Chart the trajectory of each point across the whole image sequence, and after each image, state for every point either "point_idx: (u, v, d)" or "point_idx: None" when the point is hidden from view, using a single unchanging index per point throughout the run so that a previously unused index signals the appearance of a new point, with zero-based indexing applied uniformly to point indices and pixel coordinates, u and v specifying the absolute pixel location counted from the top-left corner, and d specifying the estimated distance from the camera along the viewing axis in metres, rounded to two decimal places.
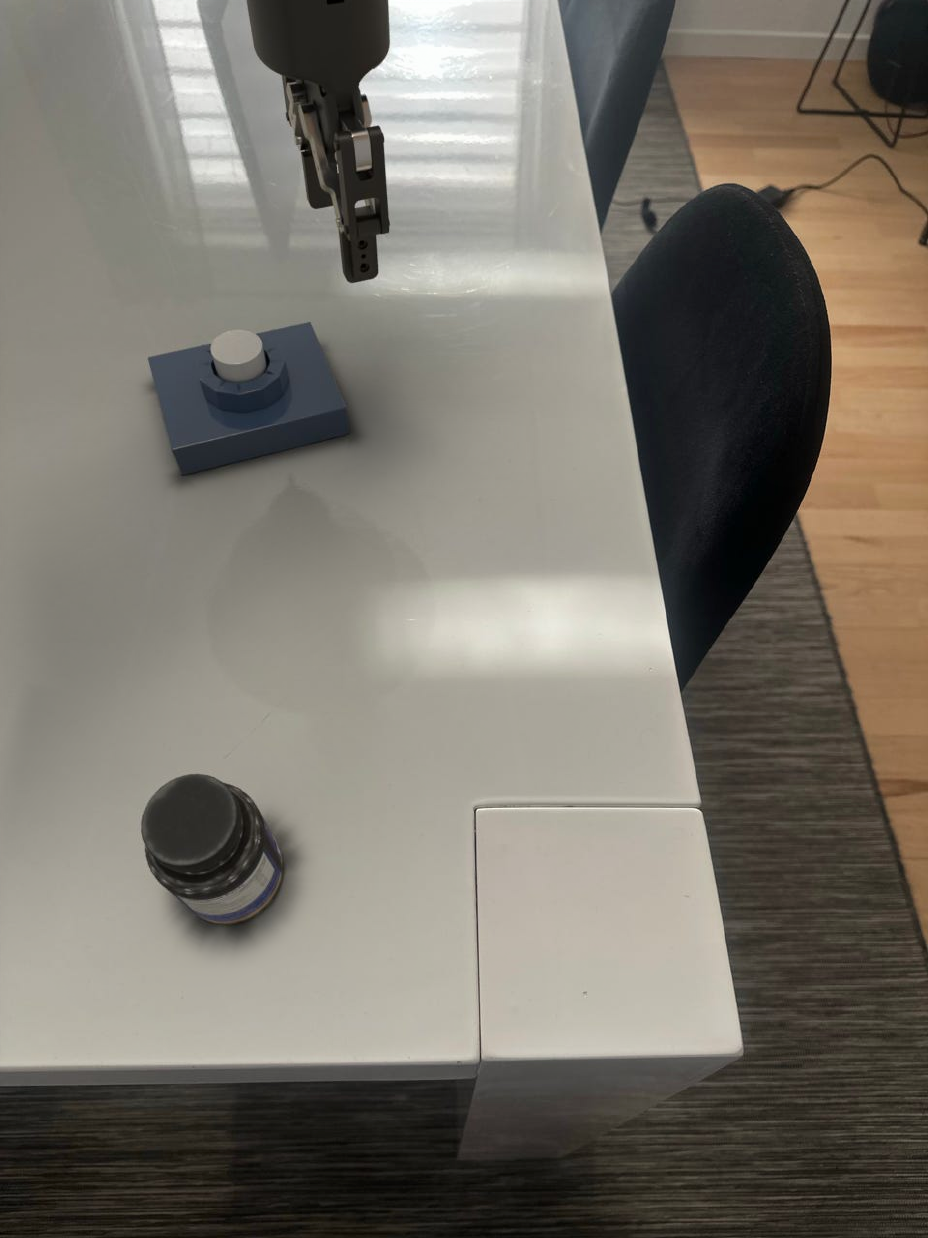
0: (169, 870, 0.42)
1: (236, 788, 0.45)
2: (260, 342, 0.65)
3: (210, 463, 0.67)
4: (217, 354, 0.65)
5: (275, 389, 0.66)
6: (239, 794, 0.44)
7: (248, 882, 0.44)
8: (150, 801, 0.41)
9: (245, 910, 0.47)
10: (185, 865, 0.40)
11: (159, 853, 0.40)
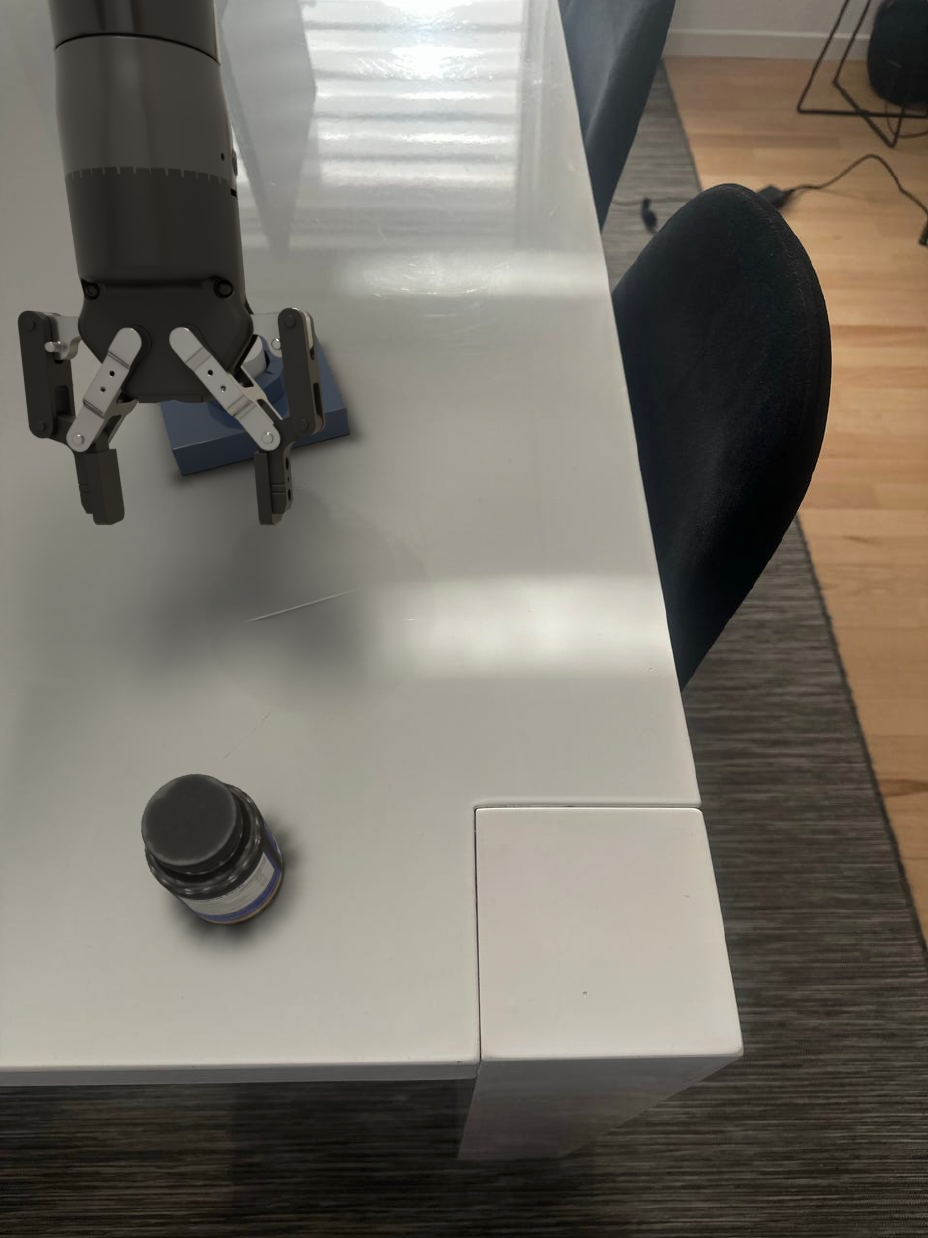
0: (169, 870, 0.42)
1: (236, 788, 0.45)
2: (260, 342, 0.65)
3: (210, 463, 0.67)
4: None
5: (275, 389, 0.66)
6: (239, 794, 0.44)
7: (248, 882, 0.44)
8: (150, 801, 0.41)
9: (245, 910, 0.47)
10: (185, 865, 0.40)
11: (159, 853, 0.40)
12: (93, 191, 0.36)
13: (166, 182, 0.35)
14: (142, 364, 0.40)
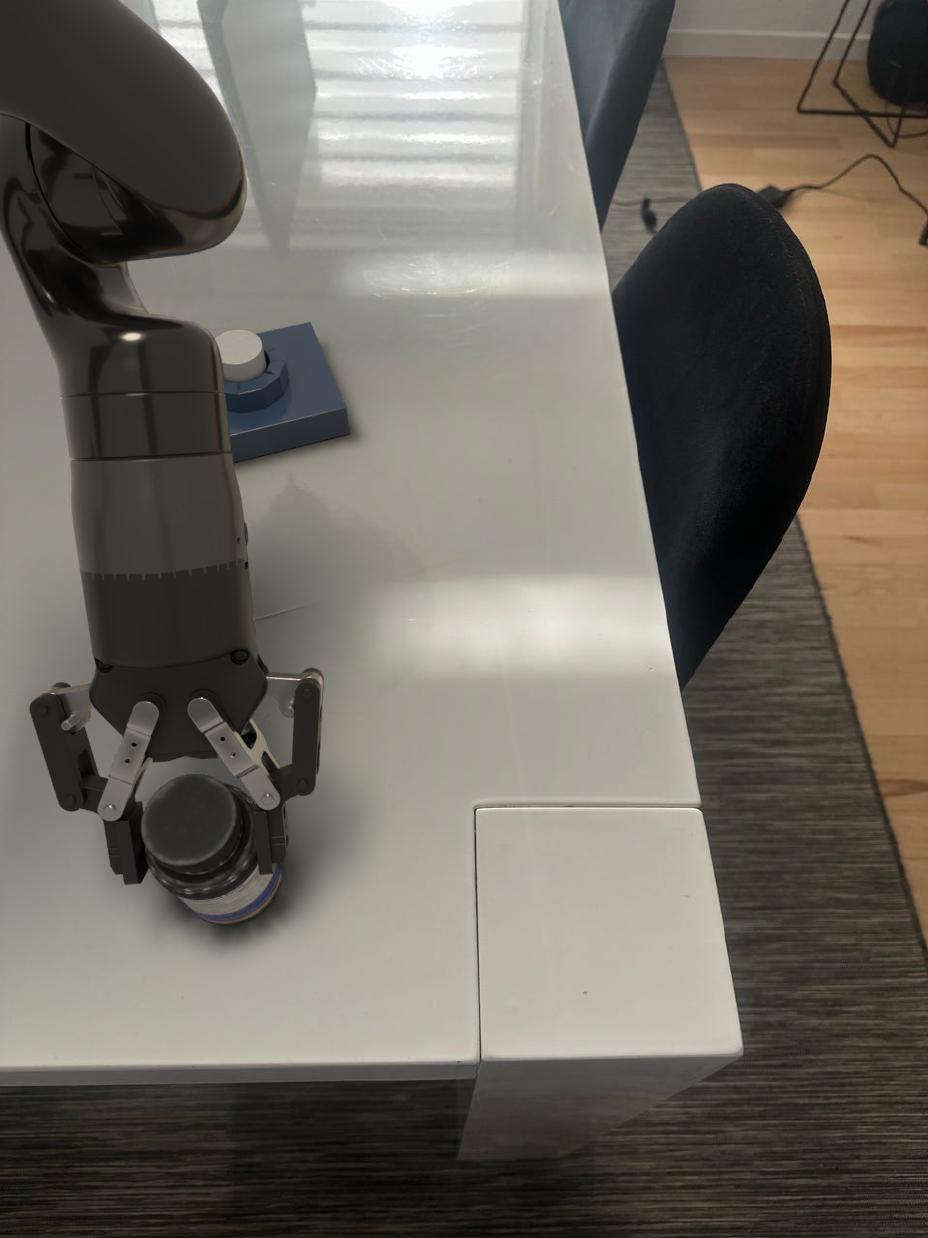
0: (169, 870, 0.42)
1: (236, 788, 0.45)
2: (260, 342, 0.65)
3: None
4: None
5: (275, 389, 0.66)
6: (239, 794, 0.44)
7: (248, 882, 0.44)
8: (150, 801, 0.41)
9: (245, 910, 0.47)
10: (184, 865, 0.40)
11: (159, 853, 0.40)
12: (116, 594, 0.36)
13: (189, 582, 0.36)
14: (157, 728, 0.40)
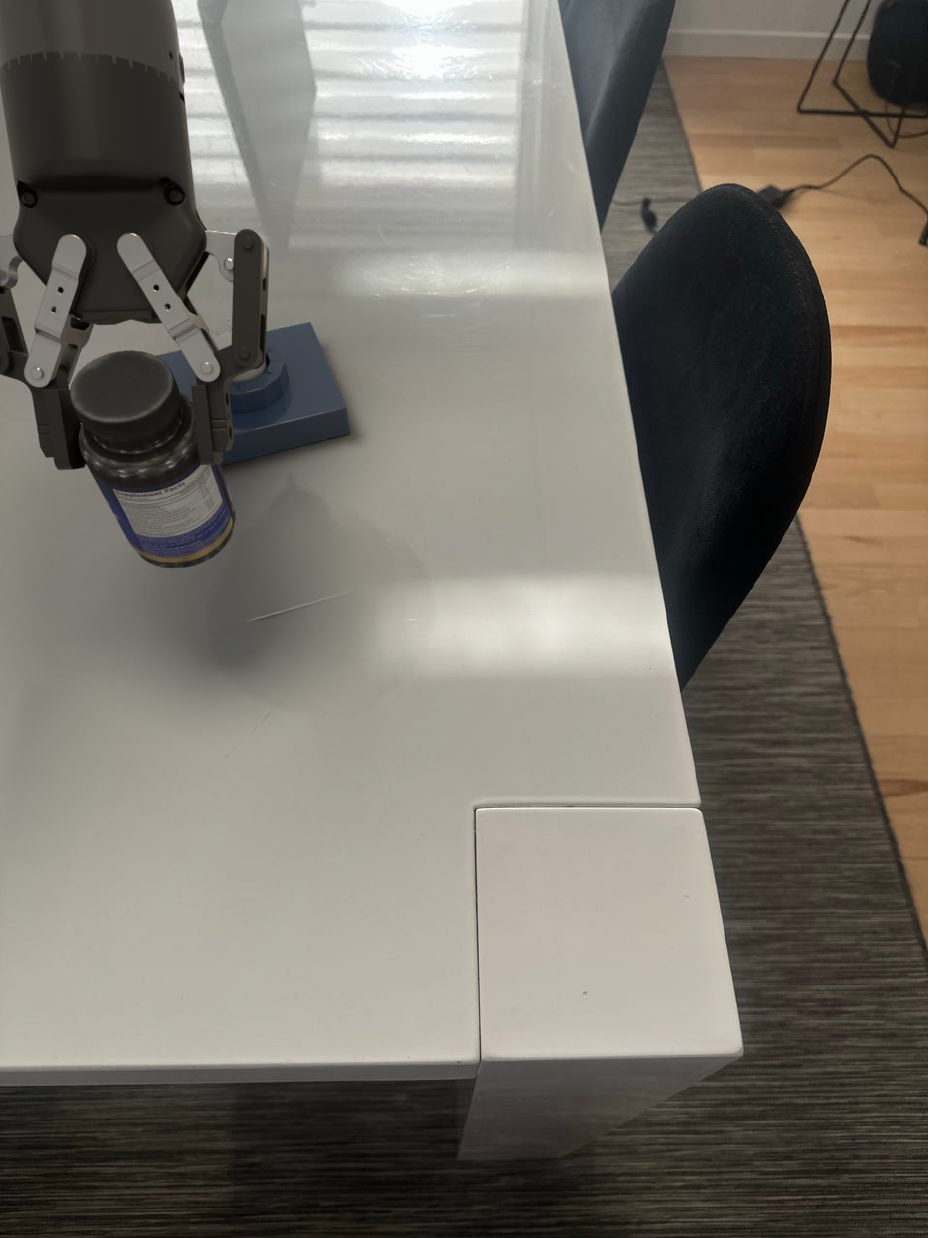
0: (102, 450, 0.39)
1: (178, 391, 0.42)
2: None
3: None
4: None
5: (275, 389, 0.66)
6: (181, 393, 0.42)
7: (190, 483, 0.41)
8: (81, 370, 0.39)
9: (190, 539, 0.44)
10: (115, 422, 0.37)
11: (88, 411, 0.37)
12: (33, 79, 0.33)
13: (113, 71, 0.34)
14: (86, 278, 0.37)
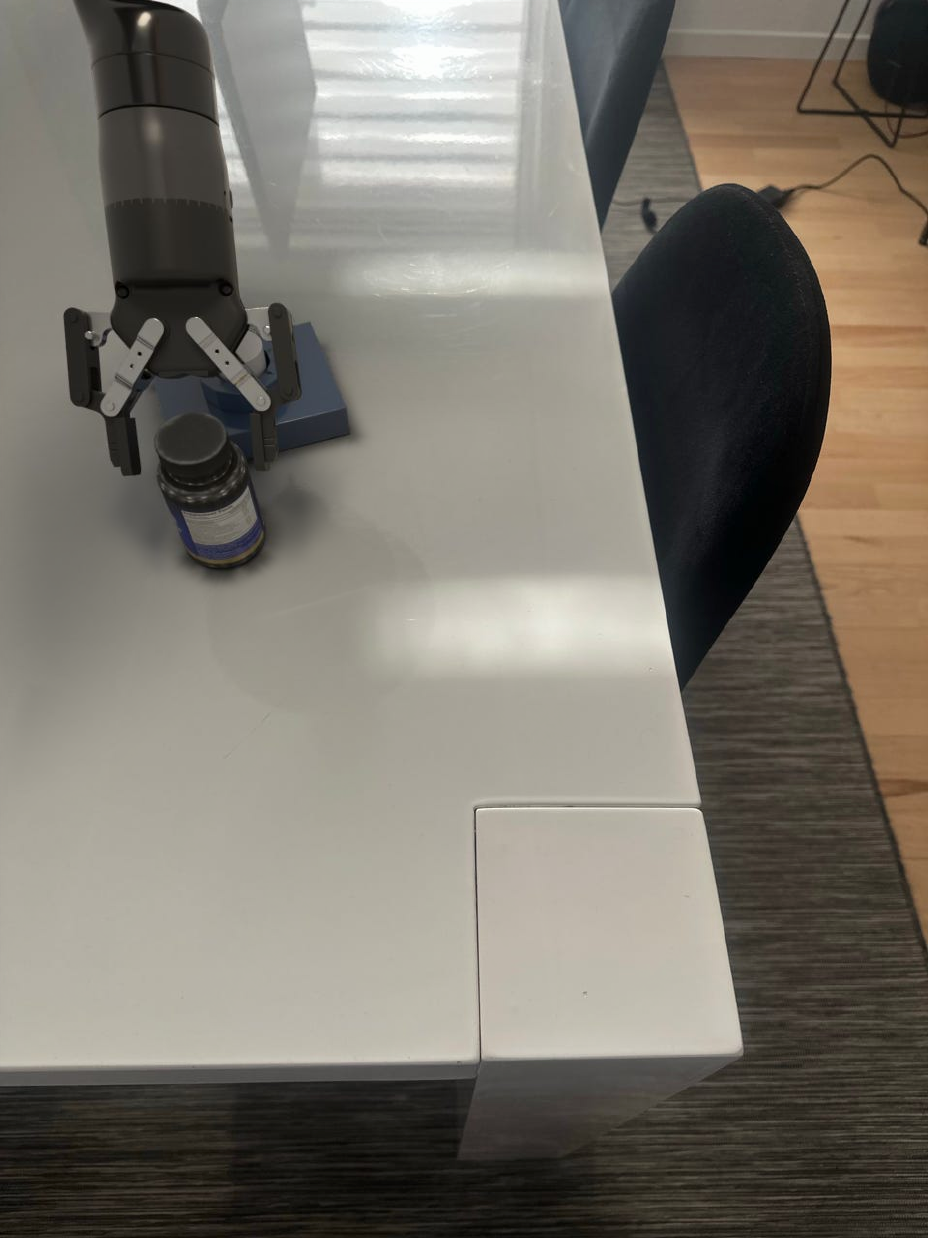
0: (175, 483, 0.55)
1: None
2: (260, 342, 0.65)
3: None
4: None
5: None
6: None
7: (236, 506, 0.57)
8: (161, 426, 0.54)
9: (234, 546, 0.60)
10: (187, 464, 0.53)
11: (168, 456, 0.53)
12: (132, 215, 0.48)
13: (187, 209, 0.49)
14: (162, 347, 0.52)
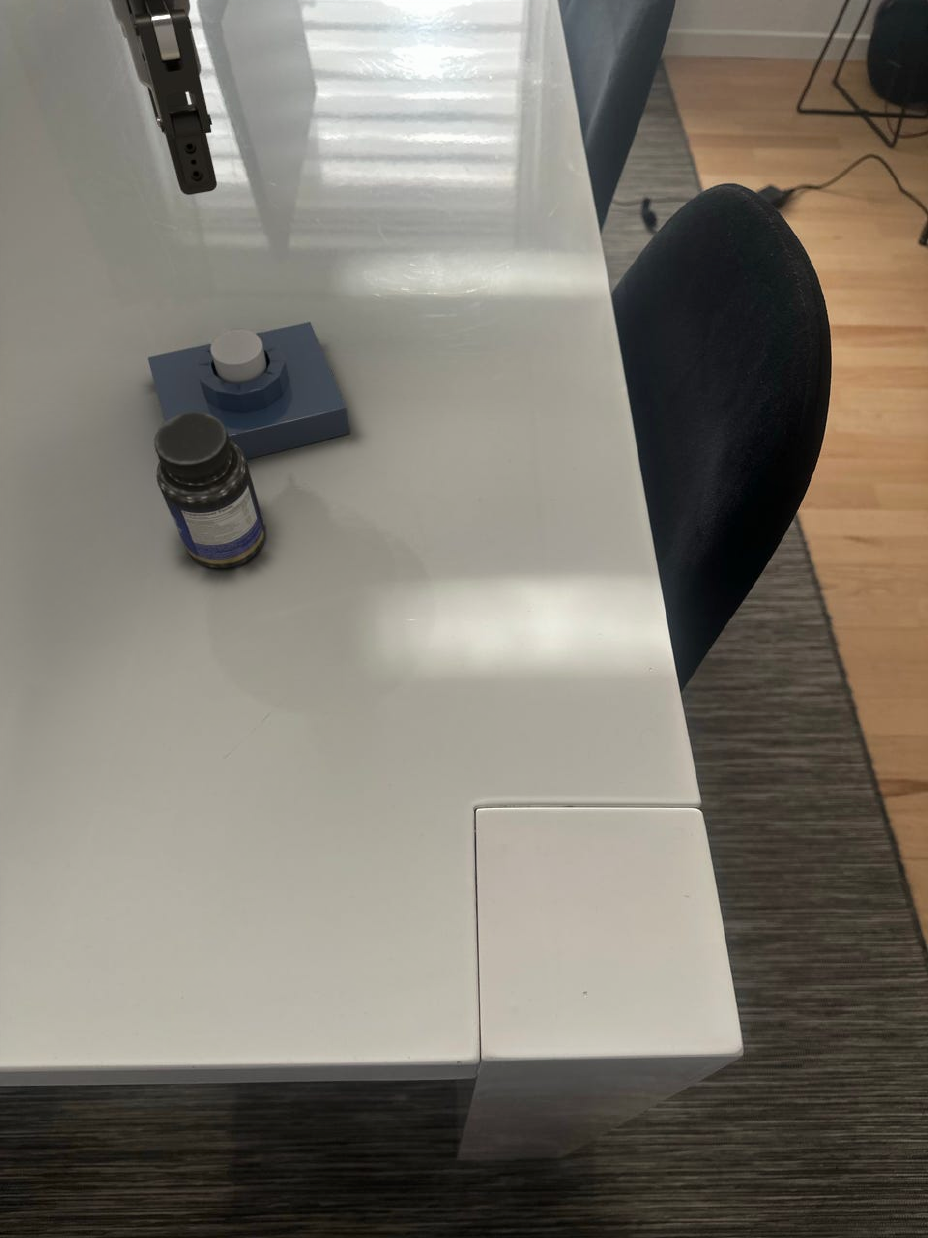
0: (175, 483, 0.55)
1: None
2: (260, 342, 0.65)
3: None
4: (217, 354, 0.65)
5: (275, 389, 0.66)
6: None
7: (236, 506, 0.57)
8: (161, 426, 0.54)
9: (234, 546, 0.60)
10: (187, 464, 0.53)
11: (168, 456, 0.53)
12: None
13: None
14: None
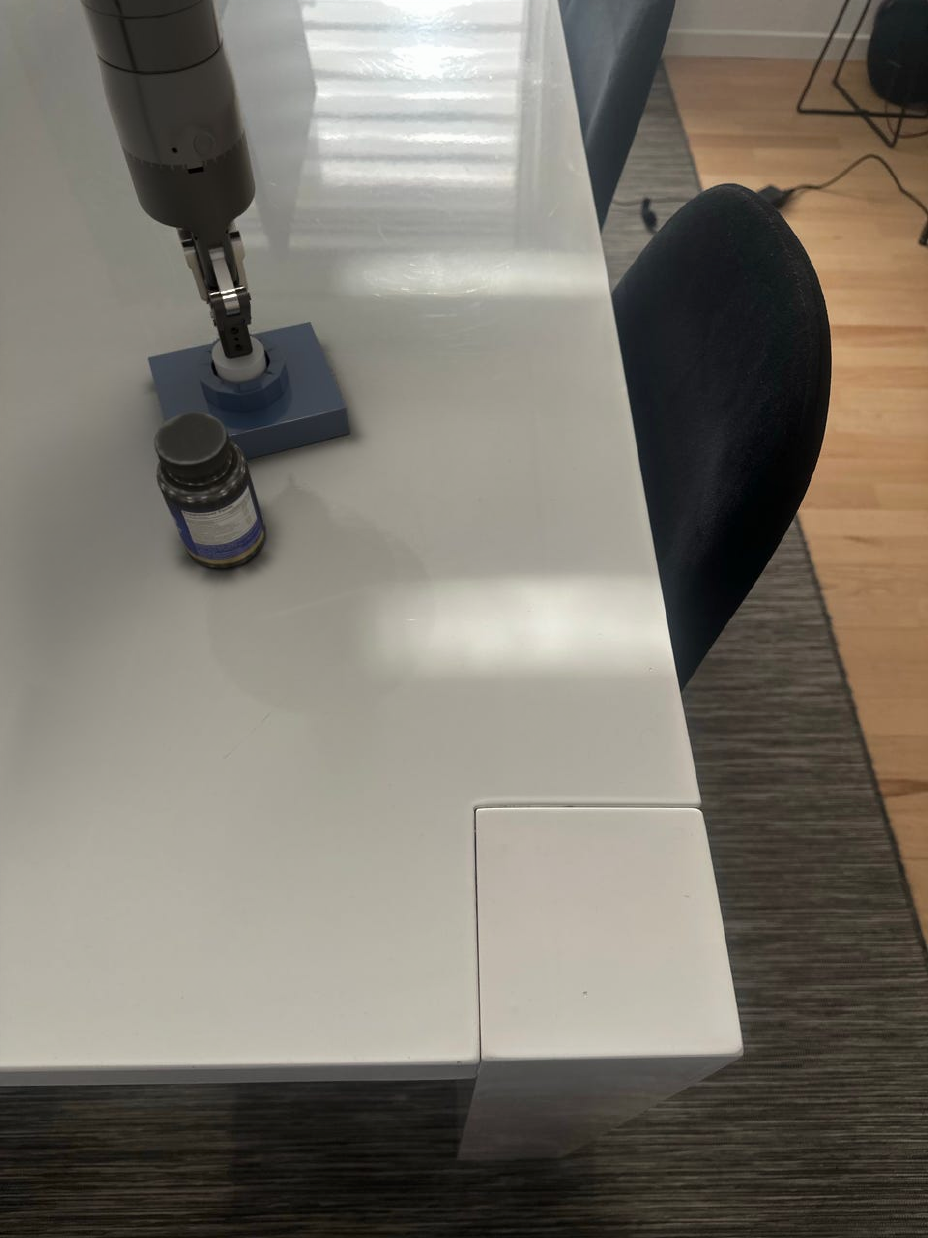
0: (175, 483, 0.55)
1: None
2: (261, 347, 0.66)
3: None
4: (219, 358, 0.65)
5: (275, 389, 0.66)
6: None
7: (236, 506, 0.57)
8: (161, 426, 0.54)
9: (234, 546, 0.60)
10: (187, 464, 0.53)
11: (168, 456, 0.53)
12: None
13: (135, 164, 0.50)
14: None
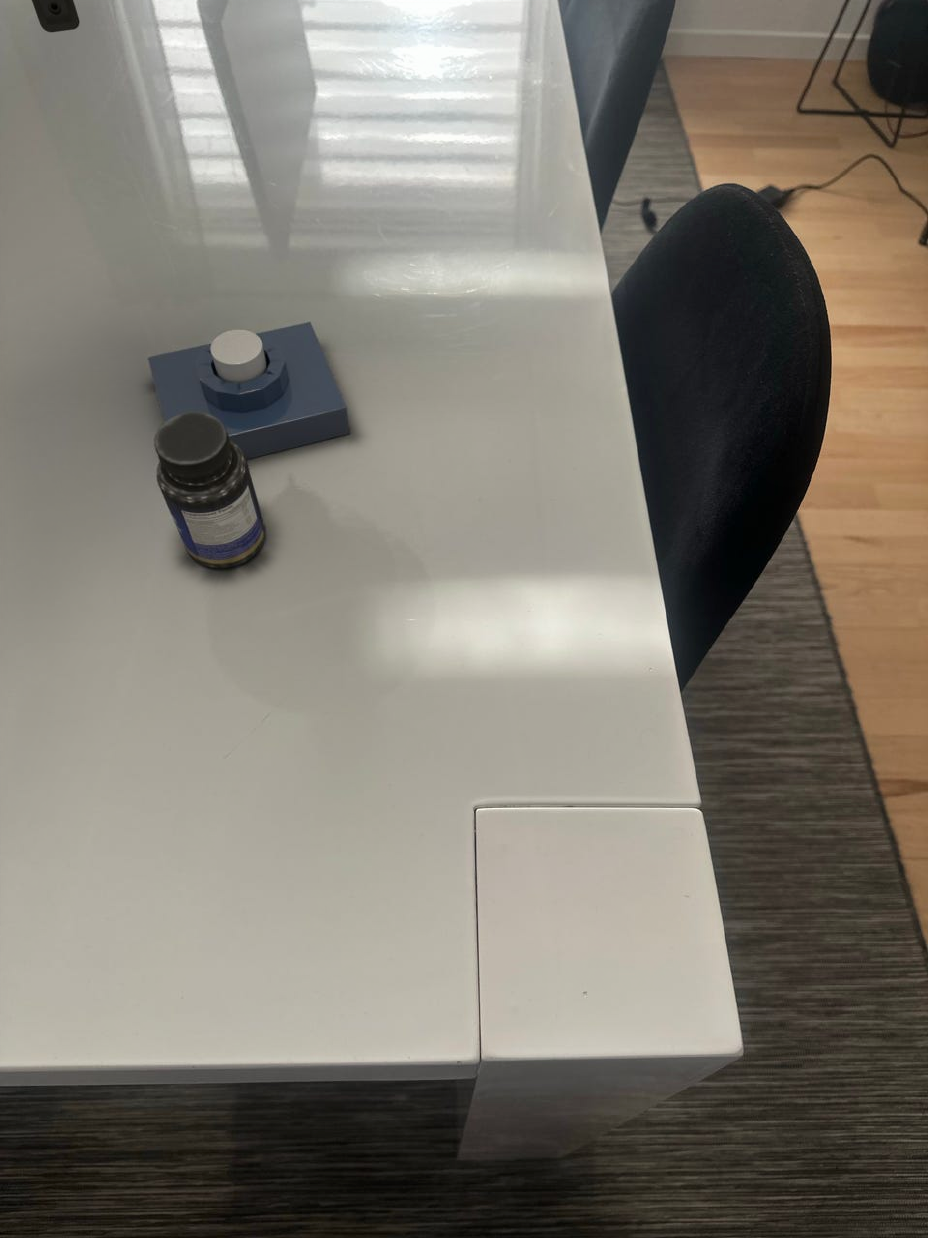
0: (175, 483, 0.55)
1: None
2: (260, 342, 0.65)
3: None
4: (217, 354, 0.65)
5: (275, 389, 0.66)
6: None
7: (236, 506, 0.57)
8: (161, 426, 0.54)
9: (234, 546, 0.60)
10: (187, 464, 0.53)
11: (168, 457, 0.53)
12: None
13: None
14: None
